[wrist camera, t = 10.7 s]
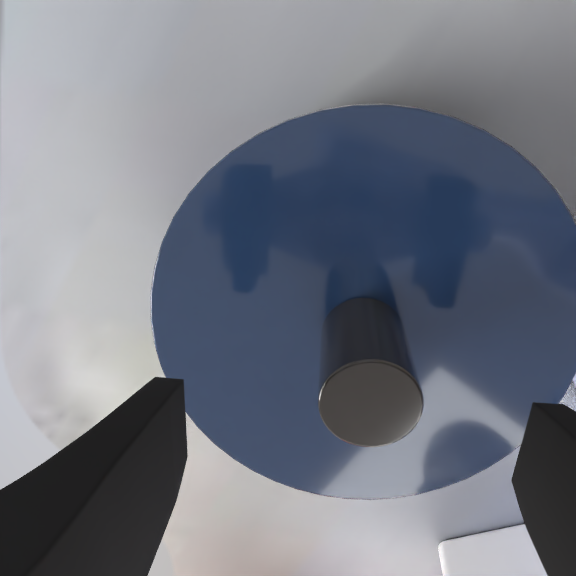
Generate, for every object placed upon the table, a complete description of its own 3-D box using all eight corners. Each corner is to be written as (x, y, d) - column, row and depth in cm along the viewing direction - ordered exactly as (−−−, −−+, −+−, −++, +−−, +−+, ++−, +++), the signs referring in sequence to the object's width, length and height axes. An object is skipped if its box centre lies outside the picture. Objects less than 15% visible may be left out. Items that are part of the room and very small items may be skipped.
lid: (625, 402, 16) (729, 517, 12) (277, 517, 19) (262, 642, 15) (489, 5, 12) (571, -32, 8) (82, 229, 15) (-13, 287, 11)
